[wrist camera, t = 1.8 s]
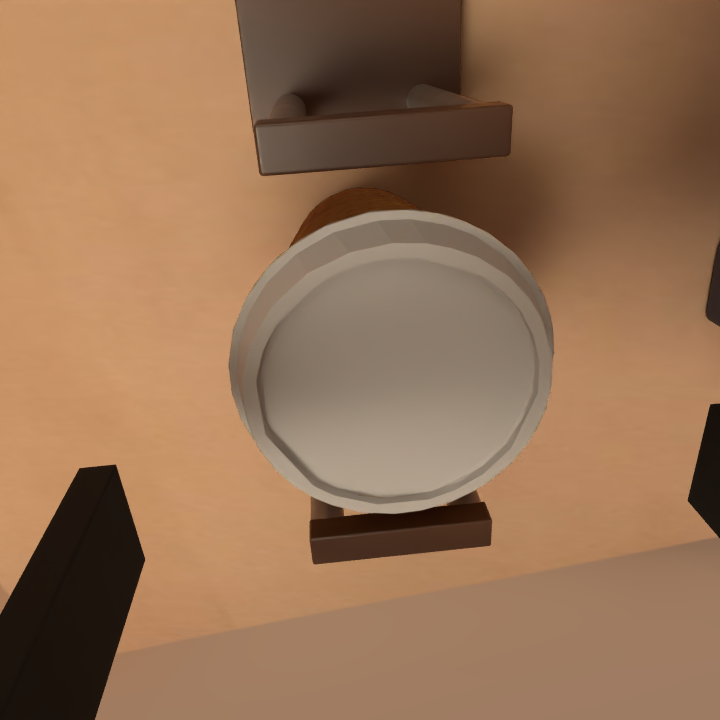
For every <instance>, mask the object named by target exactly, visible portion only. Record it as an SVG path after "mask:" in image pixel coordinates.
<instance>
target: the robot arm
mask: <svg viewBox="0 0 720 720" xmlns="http://www.w3.org/2000/svg"><path fill="white" fill-rule="evenodd" d="M688 502H689V503H690V504H691V505H692V506H693V508H694V509H695V510H696V511H697V512H698V513H699V515H700V516H701V517H702V518H703V519H704V520H705V522H706V523H707V524H708V525H709V526H710V527H711V529H712V530H713V531H714V532H715V533H716V534H717V536H718V537H719V538H720V404H710V408H709V412H708V416H707V421H706V425H705V429H704V433H703V438H702V442H701V446H700V450H699V455H698V459H697V463H696V467H695V472H694V476H693V480H692V484H691V489H690V493H689V497H688ZM144 562H145V557H144V554H143V551H142V547H141V544H140V541H139V538H138V534H137V531H136V528H135V525H134V522H133V518H132V515H131V512H130V509H129V505H128V502H127V499H126V496H125V492H124V489H123V486H122V483H121V480H120V476H119V473H118V470H117V467H116V465H107V466H97V467H87V468H79V470H78V472H77V474H76V476H75V478H74V479H73V481H72V483H71V485H70V487H69V489H68V491H67V492H66V494H65V496H64V498H63V500H62V502H61V503H60V505H59V507H58V509H57V511H56V513H55V515H54V516H53V518H52V520H51V522H50V524H49V526H48V527H47V529H46V531H45V533H44V535H43V537H42V539H41V540H40V542H39V544H38V546H37V548H36V550H35V551H34V553H33V555H32V557H31V559H30V561H29V563H28V564H27V566H26V568H25V570H24V572H23V574H22V575H21V577H20V579H19V581H18V583H17V585H16V587H15V588H14V590H13V592H12V594H11V596H10V598H9V599H8V602H7V603H6V605H5V607H4V609H3V611H2V613H1V614H0V720H95V717H96V714H97V711H98V708H99V705H100V701H101V698H102V695H103V692H104V689H105V686H106V682H107V679H108V676H109V673H110V670H111V666H112V663H113V660H114V657H115V654H116V651H117V647H118V644H119V641H120V638H121V635H122V631H123V628H124V625H125V622H126V619H127V616H128V612H129V609H130V606H131V603H132V600H133V597H134V593H135V590H136V587H137V584H138V581H139V577H140V574H141V571H142V568H143V565H144Z"/></svg>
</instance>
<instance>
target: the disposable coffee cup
mask: <svg viewBox="0 0 720 720" xmlns="http://www.w3.org/2000/svg"><path fill="white" fill-rule="evenodd" d="M553 355H554V344H553V328H552V322H551V317H550V313H549V310H548V307H547V303H546V300H545V297H544V295H543V293H542V291H541V290H540V288H539V286H538V284H537V282H536V280H535V279H534V277H533V275H532V273H531V272H530V271H529V270H528V269H527V267H526V266H525V265H524V264H523V262H522V261H521V260H520V259H519V258H518V256H517V255H516V254H515V253H514V252H513V251H511V250H510V249H509V248H507V247H506V246H505V245H504V244H502V243H501V242H500V241H498V240H497V239H496V238H495V237H493V236H492V235H491V234H489V233H488V232H486V231H484V230H482V229H480V228H478V227H475V226H473V225H471V224H469V223H467V222H465V221H462V220H459V219H456V218H454V217H451V216H448V215H446V214H440V213H433V212H427V211H422V210H421V209H420V208H418V207H416V206H414V205H412V204H411V203H409V202H407V201H405V200H404V199H402V198H401V197H399V196H397V195H395V194H392V193H390V192H388V191H384V190H380V189H375V188H356V189H350V190H345V191H343V192H340V193H338V194H336V195H333V196H331V197H329V198H328V199H326V200H325V201H323V202H322V203H320V204H319V205H317V206H316V207H315V208H314V209H313V210H312V211H311V212H310V214H309V215H308V216H307V218H306V219H305V221H304V222H303V224H302V225H301V227H300V229H299V231H298V233H297V234H296V236H295V238H294V240H293V242H292V243H291V245H290V247H289V248H288V249H287V250H286V251H285V252H283V253H282V254H281V255H280V256H278V257H277V258H276V259H275V260H274V261H273V263H272V264H271V265H270V266H269V267H268V268H267V269H266V271H265V272H264V273H263V274H262V275H261V277H260V278H259V279H258V280H257V282H256V283H255V285H254V286H253V288H252V289H251V291H250V293H249V294H248V296H247V298H246V300H245V302H244V305H243V307H242V309H241V312H240V314H239V317H238V319H237V322H236V324H235V327H234V329H233V334H232V342H231V350H230V358H229V372H230V381H231V390H232V394H233V397H234V400H235V403H236V406H237V409H238V412H239V415H240V418H241V420H242V421H243V423H244V425H245V426H246V428H247V430H248V431H249V433H250V434H251V436H252V438H253V439H254V440H255V442H256V444H257V446H258V448H259V449H260V451H261V452H262V453H263V454H264V456H265V457H266V458H267V460H268V461H269V462H270V464H271V465H272V466H273V468H274V469H275V470H276V471H277V472H278V473H280V474H281V475H282V476H283V477H284V478H285V479H286V480H288V481H289V482H290V483H291V484H292V485H293V486H295V487H296V488H298V489H300V490H301V491H303V492H305V493H307V494H308V495H310V496H312V497H313V498H316V499H318V500H321V501H323V502H325V503H328V504H330V505H333V506H337V507H341V508H345V509H349V510H353V511H357V512H361V513H389V514H397V513H405V512H413V511H421V510H425V509H428V508H432V507H435V506H439V505H442V504H445V503H449V502H452V501H454V500H456V499H458V498H460V497H462V496H464V495H467V494H469V493H471V492H473V491H475V490H476V489H478V488H480V487H481V486H483V485H484V484H486V483H488V482H489V481H490V480H492V479H493V478H494V477H495V476H496V475H498V474H499V473H500V472H501V471H502V470H504V469H505V468H506V467H507V466H508V465H510V464H511V463H512V461H513V460H514V459H515V458H516V457H517V456H518V454H519V453H520V452H521V451H522V450H523V449H524V447H525V446H526V445H527V444H528V442H529V440H530V439H531V437H532V436H533V434H534V432H535V431H536V429H537V427H538V425H539V423H540V421H541V418H542V416H543V414H544V412H545V409H546V406H547V402H548V398H549V394H550V390H551V383H552V362H553Z"/></svg>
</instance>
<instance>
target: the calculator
mask: <svg viewBox="0 0 720 720" xmlns="http://www.w3.org/2000/svg"><path fill="white" fill-rule="evenodd" d="M707 318H708V319H709V320H710V321H712V322H713V323H715V324H717V325H718V326H720V245H719V247H718V248H717V253H716V259H715V265H714V271H713V277H712V283H711V288H710V294H709V300H708V306H707Z"/></svg>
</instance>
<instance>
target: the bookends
mask: <svg viewBox="0 0 720 720" xmlns="http://www.w3.org/2000/svg"><path fill="white" fill-rule="evenodd" d="M235 3H236V10H237V18H238V25H239V32H240V40H241V47H242V54H243V61H244V69H245V76H246V83H247V90H248V98H249V105H250V112H251V119H252V127H253V132H254V138H255V145H256V152H257V160H258V167H259V173H260V175H262V176H271V175H283V174H296V173H308V172H321V171H333V170H345V169H358V168H370V167H383V166H395V165H408V164H420V163H433V162H445V161H457V160H470V159H482V158H495V157H507V156H509V155H510V153H511V135H512V116H513V107H512V105H510V104H507V103H503V102H500V101H499V102H486V103H483V102H480V101H477V100H474V99H471V98H468V97H464V96H461V95H460V84H461V6H462V0H235ZM491 532H492V519H491V516H490V514H489V511H488V509H487V506H486V504H485V502H481V501H480V498H479V496H478V493H477V491H476V490H475V491H473V492H471V493H469V494H467V495H464V496H462V497H460V498H458V499H456V500H454V501H452V502H449V503H447V506H438V507H432V508H428V509H425V510H421V511H413V512H405V513H397V514H389V513H370V514H361V515H351V516H344V510H343V508H341V507H337V506H333V505H330V504H328V503H325V502H323V501H321V500H318V499H316V498H313V497H312V496H311V520H310V546H311V553H312V560H313V563H314V564H323V563H333V562H342V561H352V560H361V559H370V558H380V557H389V556H398V555H408V554H417V553H427V552H436V551H445V550H455V549H464V548H473V547H483V546H490V545H491Z"/></svg>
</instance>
